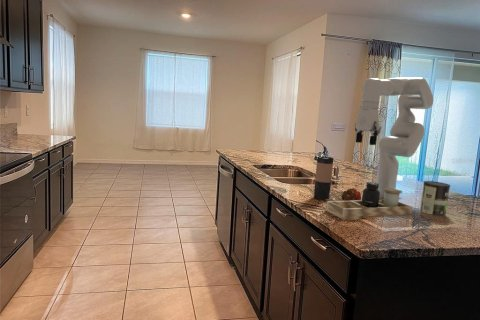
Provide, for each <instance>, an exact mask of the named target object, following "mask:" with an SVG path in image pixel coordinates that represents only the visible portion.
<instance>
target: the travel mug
mask: <svg viewBox="0 0 480 320" xmlns="http://www.w3.org/2000/svg"><path fill="white" fill-rule="evenodd" d="M315 167H316V168H315V177H314V191H313V197H314V198H313V199H316V200H318V201H326V200H329V199H330V193H331V188H332V187H331V186H332V176H333V167H334V158H333V157H331V156H320V157H319V156H317V159H316V166H315Z"/></svg>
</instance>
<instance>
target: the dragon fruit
mask: <svg viewBox="0 0 480 320" xmlns="http://www.w3.org/2000/svg"><path fill="white" fill-rule="evenodd" d="M340 197H341V201H355V200H362V194H361V192H360V191H358V189H356V188H355V187H353V188H348V189H346V190H345V191H343V192H342V195H341V196H340Z"/></svg>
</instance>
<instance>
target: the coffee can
mask: <svg viewBox="0 0 480 320" xmlns="http://www.w3.org/2000/svg"><path fill="white" fill-rule="evenodd" d="M450 188H451V184H449V183H445V182H439V181H433V180H423V186H422V194H421V200H420V208H419V211H420V212H421V213H424V214H427V215H432V216H446V215H447V209H448V208H447V207H448V200H449V194H450Z"/></svg>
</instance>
